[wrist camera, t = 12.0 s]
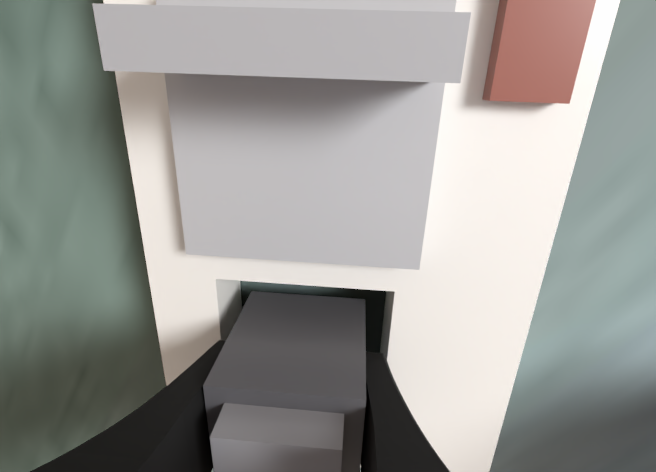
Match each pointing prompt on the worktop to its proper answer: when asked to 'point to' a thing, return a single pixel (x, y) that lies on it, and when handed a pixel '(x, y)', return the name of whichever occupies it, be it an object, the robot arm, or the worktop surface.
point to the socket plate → (440, 230)
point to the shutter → (298, 119)
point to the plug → (290, 386)
